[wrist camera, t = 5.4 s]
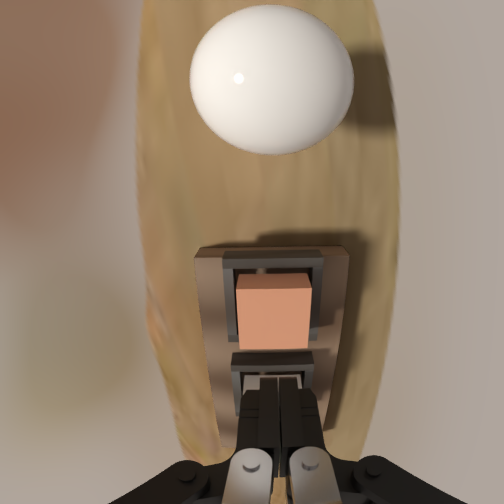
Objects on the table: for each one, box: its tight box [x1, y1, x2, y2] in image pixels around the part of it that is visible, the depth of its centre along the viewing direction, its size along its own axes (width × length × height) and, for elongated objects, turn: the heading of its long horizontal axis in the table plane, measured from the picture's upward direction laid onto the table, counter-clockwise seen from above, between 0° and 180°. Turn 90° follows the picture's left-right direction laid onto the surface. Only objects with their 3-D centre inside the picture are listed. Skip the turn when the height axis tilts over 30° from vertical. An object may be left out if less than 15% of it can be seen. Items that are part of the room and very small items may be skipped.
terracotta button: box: [236, 273, 312, 349], centre depth 17 cm, size 4×4×2 cm
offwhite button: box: [243, 374, 302, 394], centre depth 20 cm, size 4×4×2 cm
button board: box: [194, 246, 350, 448], centre depth 22 cm, size 22×10×4 cm, turn 2°
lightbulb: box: [190, 4, 354, 155], centre depth 12 cm, size 6×6×11 cm
